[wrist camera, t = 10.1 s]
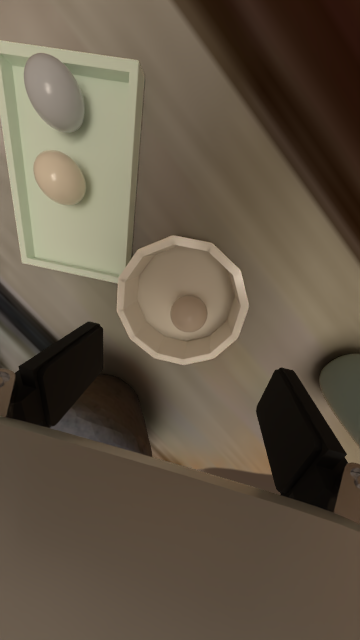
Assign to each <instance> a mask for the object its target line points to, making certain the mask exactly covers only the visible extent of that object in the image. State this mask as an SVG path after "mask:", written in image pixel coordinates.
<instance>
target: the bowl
mask: <svg viewBox="0 0 360 640" xmlns="http://www.w3.org/2000/svg"><path fill="white" fill-rule="evenodd" d="M185 295H193V296H196V297H198V298H200V299H201V300H202V301H203V302H204V304H205V305H206V308H207V312H208V315H207V320H206V322H205V324H204V325H203V326H202V328H200V329H199V330H197V331H195V332H183V331H181V330H179V329H178V328H176V327H175V326H174V324H173V323H172V320H171V317H170V311H171V307H172V305H173V303H174V302H175V301H176V300H177V299H178V298H180V297H182V296H185ZM248 308H249V303H248V299H247V295H246V291H245V286H244V282H243V278H242V274H241V270H240V269H239V268H238V267H237V266H236V265H235V264H234V263H233V262H232V261H231V260H229V259H228V258H227V257H226V256H225V255H224V254H223V253H222V252H221V251H220V250H219V249H218V248H217V247H216V246H215V245H214V244H213V243H210V242H205V241H200V240H195V239H190V238H185V237H180V236H175V235H172V236H170V237H167V238H165V239H162V240H160V241H157V242H155V243H152V244H150V245H147V246H145V247H143V248H140V249H138V250H137V251H136V253H135V254H134V256H133V257H132V259H131V260H130V262H129V263H128V265H127V266H126V267H125V269H124V270H123V272H122V273H121V275H120V276H119V278H118V291H117V313H118V315H119V317H120V319H121V321H122V323H123V325H124V327H125V329H126V332H127V334H128V336H129V338H130V339H131V340H132V341H133V342H135V343H136V344H137V345H138V346H140V347H141V348H142V349H143V350H145V351H146V352H147V353H148V354H150V355H151V356H152V357H154V358H156V359H160V360H165V361H169V362H173V363H177V364H181V365H187V364H191V363H196V362H200V361H205V360H209V359H214V358H215V357H216V356H217V355H219V354H220V353H221V352H222V351H223V350H225V349H226V348H227V347H228V346H229V345H230V344H232V343H233V342H234V341H235V340H236V339H238V337H239V334H240V331H241V328H242V325H243V323H244V320H245V317H246V314H247V311H248Z"/></svg>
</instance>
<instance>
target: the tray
mask: <svg viewBox="0 0 360 640" xmlns="http://www.w3.org/2000/svg"><path fill="white" fill-rule="evenodd" d="M36 53H46V54H49V55H52V56H54V57H55V58H57V59H58V60H60V61H61V62H62V63H63V64H64V65H65V66H66V67H67V68H68V69H69V70H70V72H71V73H72V75H73V76H74V77H75V79H76V81H77V83H78V85H79V87H80V90H81V92H82V95H83V99H84V105H85V115H84V120H83V123H82V125H81V126H80V127H79V129H77V130H76V131H74V132H71V133H64V132H60V131H58V130H56V129H54V128H52V127H51V126H49V125H48V124H47V123H46V122H45V121H44V120H43V119H42V118H41V117H40V116H39V115H38V113H37V112H36V110H35V109H34V107H33V106H32V104H31V102H30V100H29V97H28V95H27V92H26V89H25V84H24V68H25V64H26V62H27V60H28V59H29V58H30V57H31V56H32V55H34V54H36ZM144 83H145V76H144V73H143V71H142V68H141V65H140V62H139V60H133V59H126V58H119V57H112V56H105V55H98V54H91V53H84V52H77V51H71V50H64V49H57V48H50V47H43V46H36V45H29V44H22V43H15V42H8V41H1V40H0V117H1V124H2V131H3V137H4V144H5V151H6V158H7V164H8V171H9V178H10V185H11V192H12V198H13V205H14V212H15V219H16V225H17V232H18V239H19V246H20V253H21V259H22V263H25V264H30V265H34V266H39V267H43V268H48V269H53V270H57V271H62V272H67V273H71V274H76V275H80V276H85V277H90V278H94V279H99V280H104V281H108V282H113V283H118V278H119V276H120V275H121V273H122V272H123V270H124V269H125V267H126V266H127V265H128V263H129V262H130V260H131V256H132V243H133V229H134V216H135V203H136V189H137V176H138V163H139V150H140V136H141V123H142V110H143V96H144ZM46 150H56V151H60V152H62V153H64V154H66V155H68V156H69V157H70V158H71V159H73V160H74V161H75V162H76V164H77V165H78V166H79V168H80V169H81V171H82V173H83V175H84V178H85V182H86V191H85V195H84V197H83V199H82V200H81V201H80V202H78V203H77V204H74V205H62V204H59V203H56V202H55V201H53V200H51V199H50V198H49V197H47V196H46V195H45V194H44V193H43V191H42V190H41V189H40V187H39V186H38V184H37V182H36V180H35V176H34V171H33V165H34V161H35V159H36V157H37V156H38V155H39V154H40V153H41V152H43V151H46Z"/></svg>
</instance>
